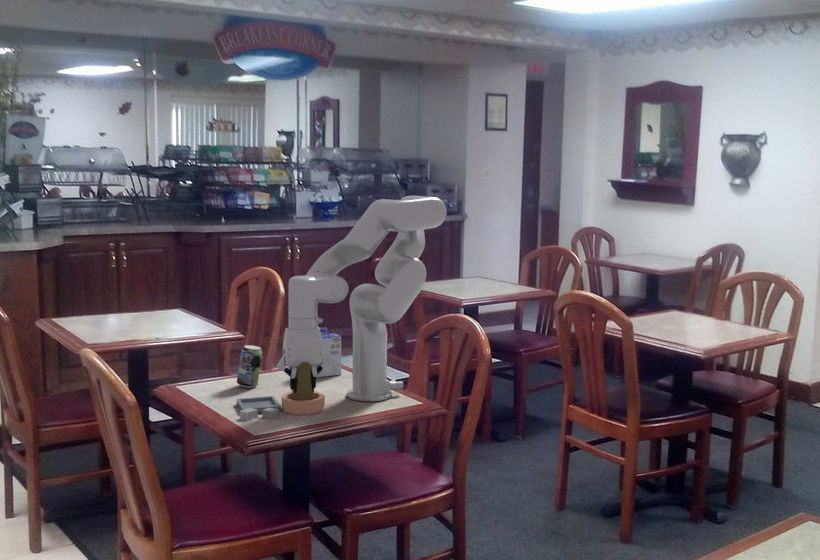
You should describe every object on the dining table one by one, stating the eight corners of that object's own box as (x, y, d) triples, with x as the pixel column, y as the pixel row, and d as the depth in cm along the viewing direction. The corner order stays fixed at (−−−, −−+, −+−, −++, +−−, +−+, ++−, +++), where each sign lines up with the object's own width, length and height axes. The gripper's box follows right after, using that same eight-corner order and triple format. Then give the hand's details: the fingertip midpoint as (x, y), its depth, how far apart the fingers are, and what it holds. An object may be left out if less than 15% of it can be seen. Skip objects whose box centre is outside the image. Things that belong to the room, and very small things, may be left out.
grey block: (278, 416, 223) (278, 409, 223) (272, 419, 221) (272, 411, 221) (268, 415, 225) (268, 407, 224) (262, 417, 222) (262, 410, 222)
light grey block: (250, 415, 223) (250, 407, 223) (257, 418, 222) (257, 409, 222) (239, 419, 221) (239, 410, 220) (247, 421, 219) (247, 412, 219)
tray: (273, 401, 236) (273, 395, 236) (281, 411, 227) (281, 405, 227) (236, 404, 233) (236, 398, 233) (242, 414, 224) (242, 409, 223)
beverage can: (234, 385, 252) (234, 344, 250) (259, 382, 255) (258, 342, 254) (239, 390, 247) (239, 349, 245) (265, 388, 250) (264, 347, 248)
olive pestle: (305, 403, 225) (305, 361, 224) (286, 399, 228) (286, 358, 227) (318, 397, 230) (319, 357, 229) (300, 394, 233) (300, 354, 232)
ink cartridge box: (335, 371, 270) (335, 325, 268) (342, 375, 266) (342, 328, 264) (305, 374, 266) (305, 328, 264) (312, 378, 261) (312, 331, 259)
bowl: (318, 401, 237) (318, 389, 236) (328, 412, 226) (328, 399, 226) (278, 404, 233) (278, 392, 232) (287, 416, 223) (287, 403, 222)
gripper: (330, 319, 233) (329, 385, 235) (268, 322, 227) (268, 390, 230) (337, 324, 226) (337, 392, 228) (274, 327, 220) (274, 397, 223)
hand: (303, 390), depth 229 cm, fingers closed on olive pestle, 3 cm apart
